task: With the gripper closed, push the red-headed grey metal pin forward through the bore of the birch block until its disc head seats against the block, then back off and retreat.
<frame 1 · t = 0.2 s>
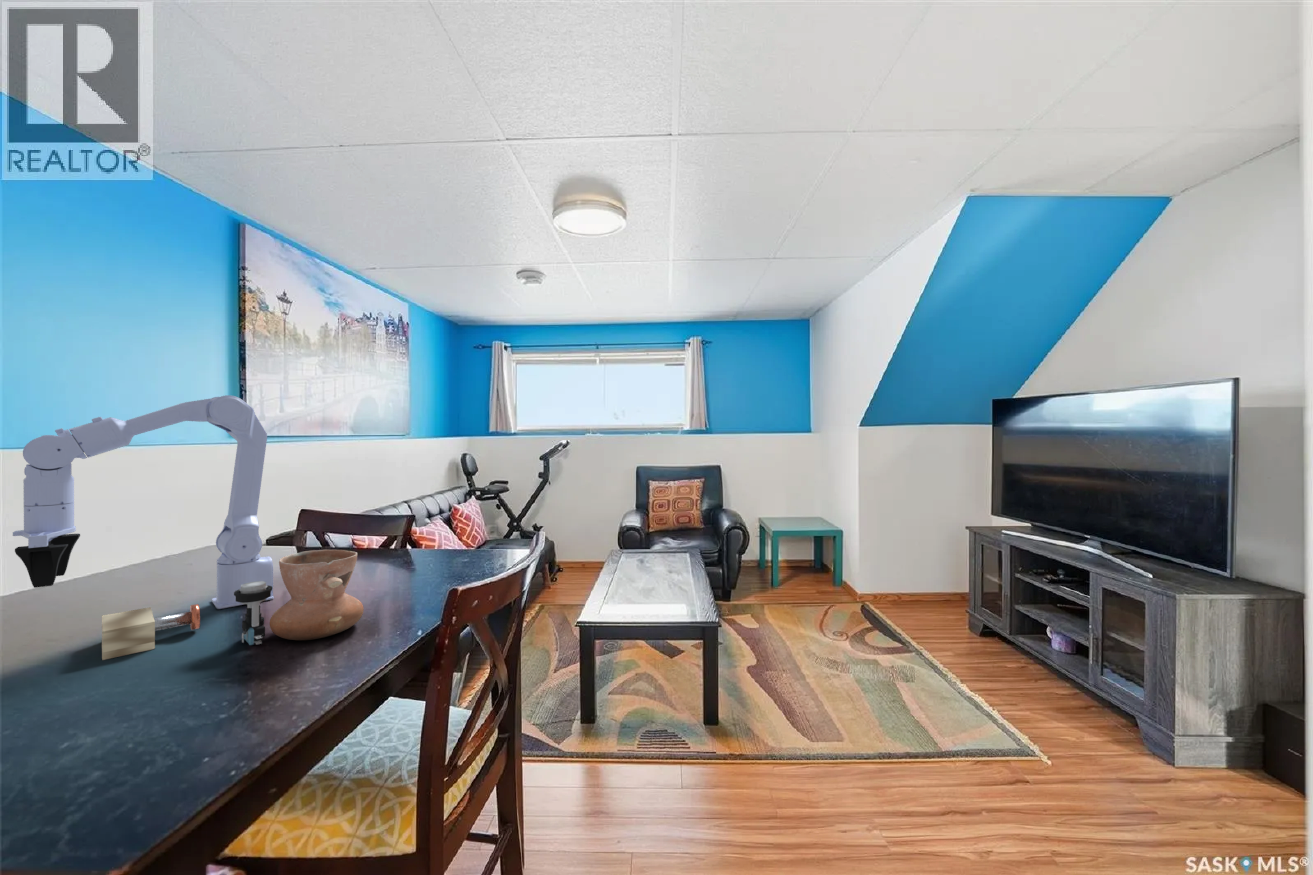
hand: (49, 581, 90), 10 cm above the table, fingers open, 7 cm apart
hitch block: (127, 645, 87), on the table
pin: (152, 624, 89), point 3 cm above the table, slide at 0.0 cm
push button: (254, 642, 89), on the table
ceramic jug: (317, 631, 95), on the table
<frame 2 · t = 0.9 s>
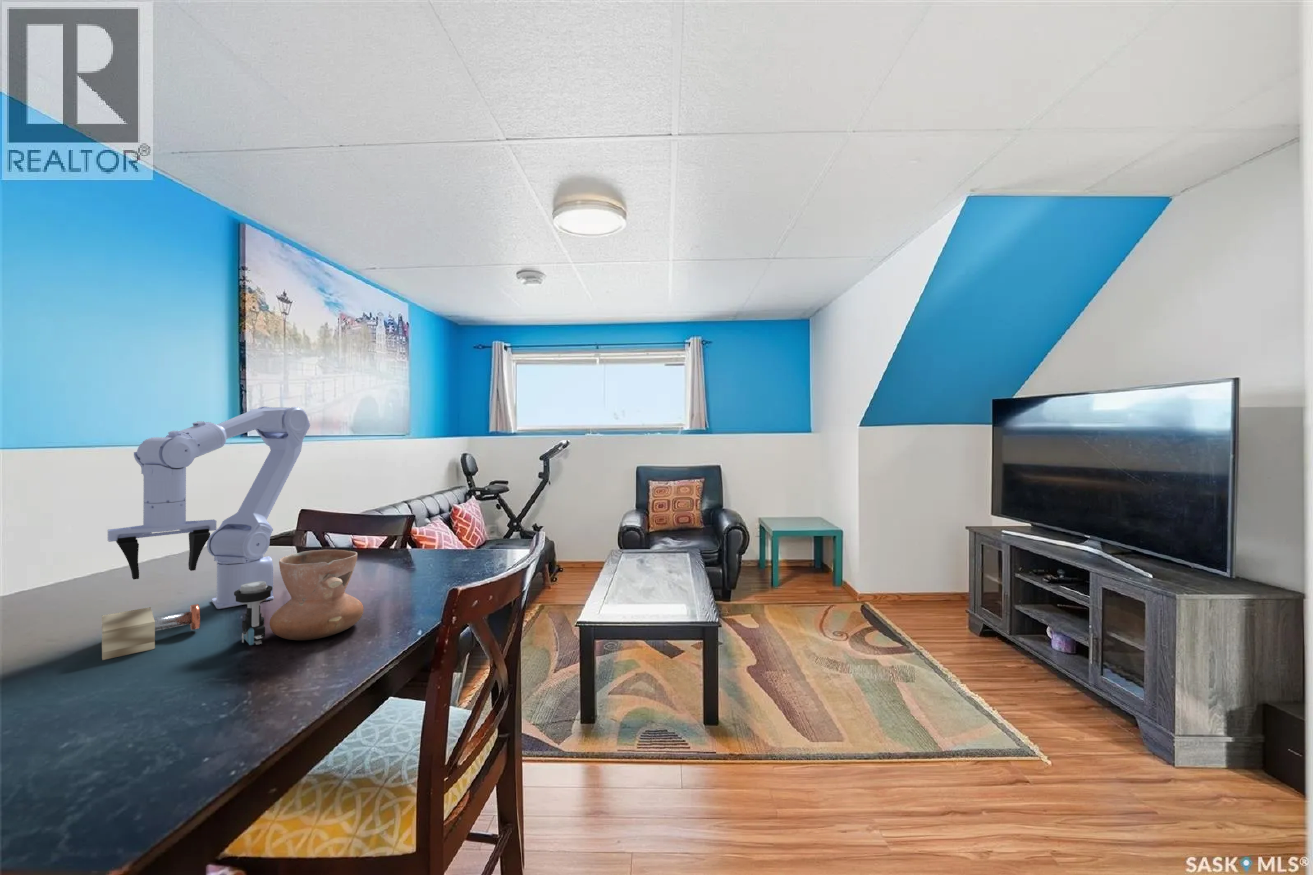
hand: (164, 573, 95), 10 cm above the table, fingers open, 7 cm apart
nothing on the table moved.
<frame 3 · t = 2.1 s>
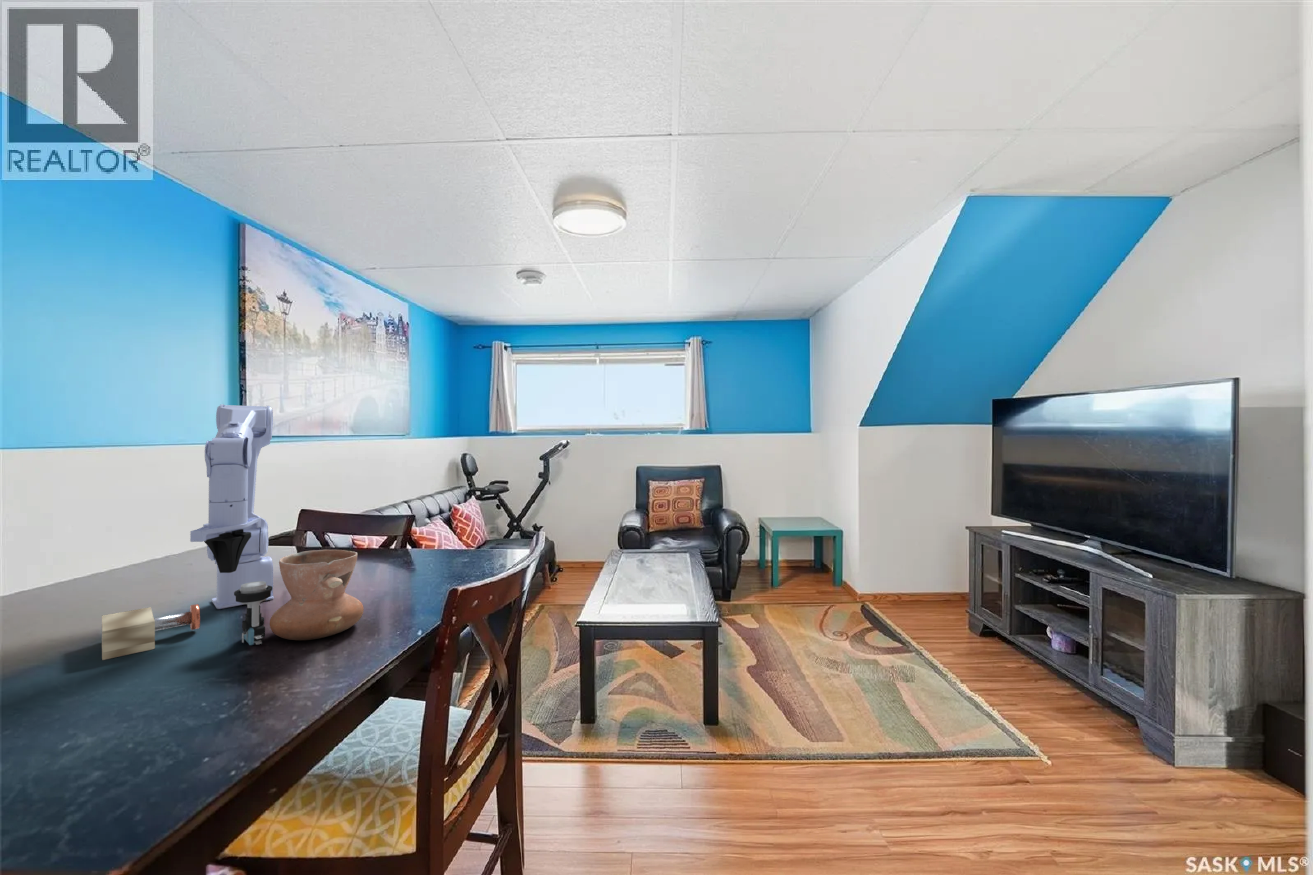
hand: (227, 571, 97), 10 cm above the table, fingers closed
nothing on the table moved.
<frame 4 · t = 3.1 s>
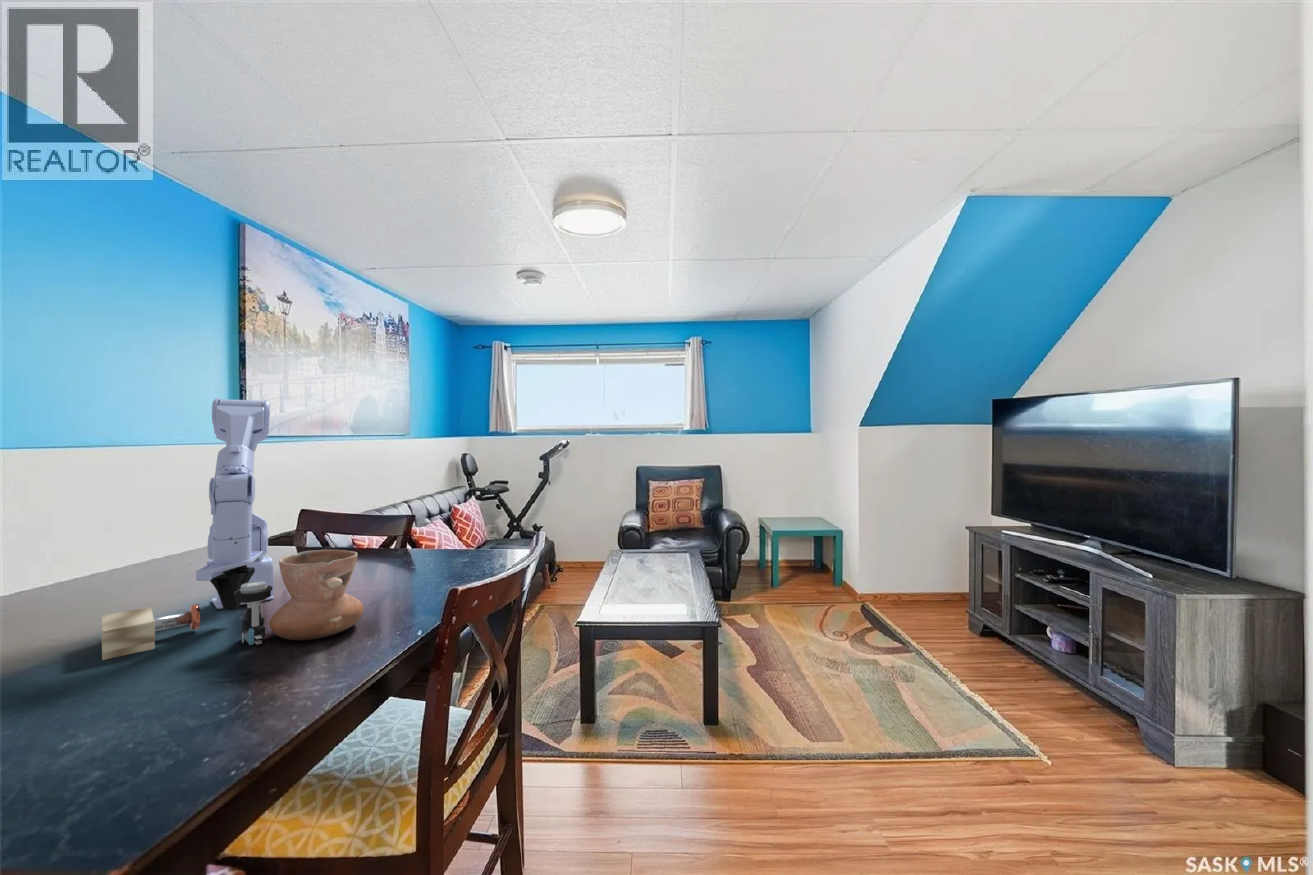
hand: (231, 608, 97), 3 cm above the table, fingers closed
nothing on the table moved.
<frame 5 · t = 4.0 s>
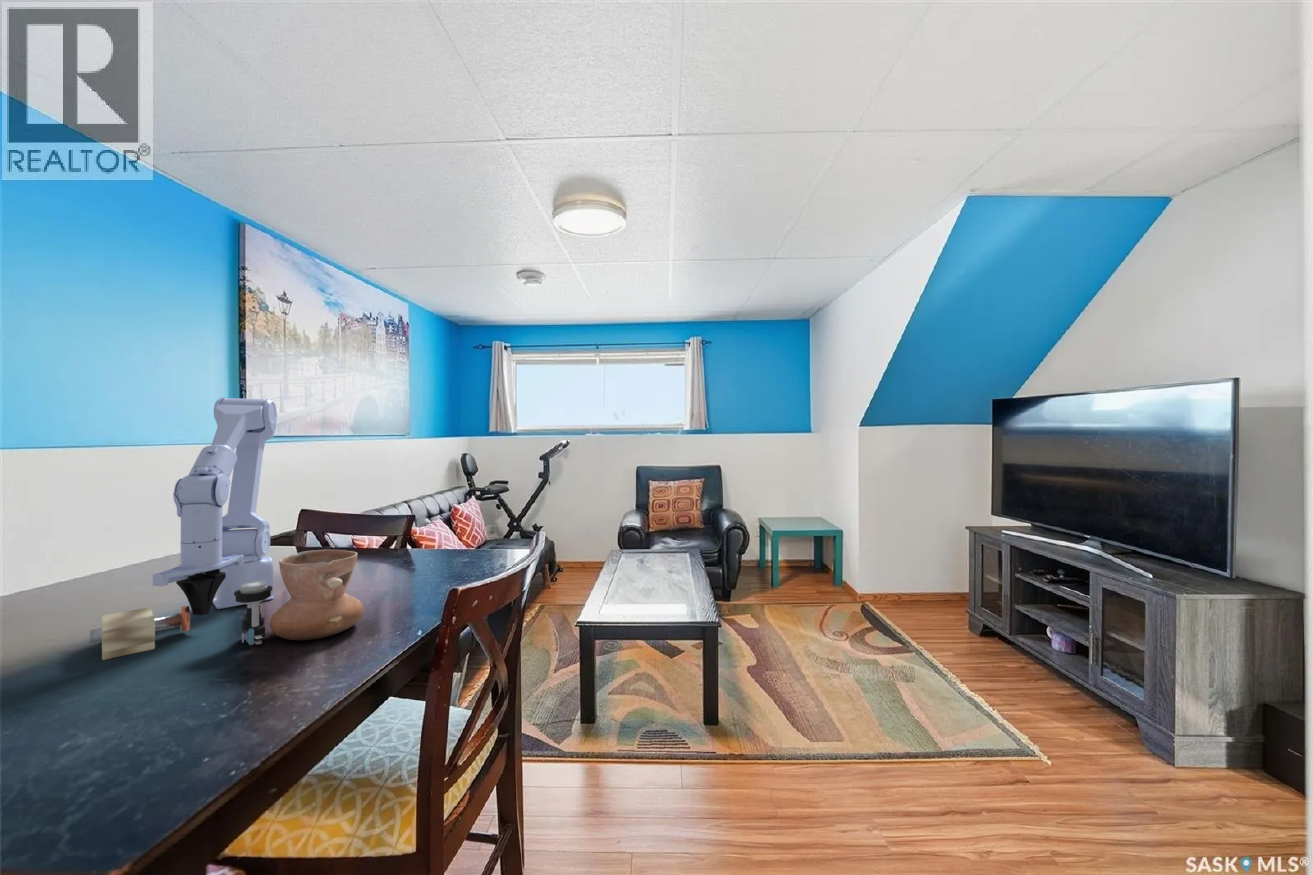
hand: (201, 613, 94), 3 cm above the table, fingers closed
pin: (141, 627, 88), point 3 cm above the table, slide at 1.3 cm, touching gripper
everything else where it was.
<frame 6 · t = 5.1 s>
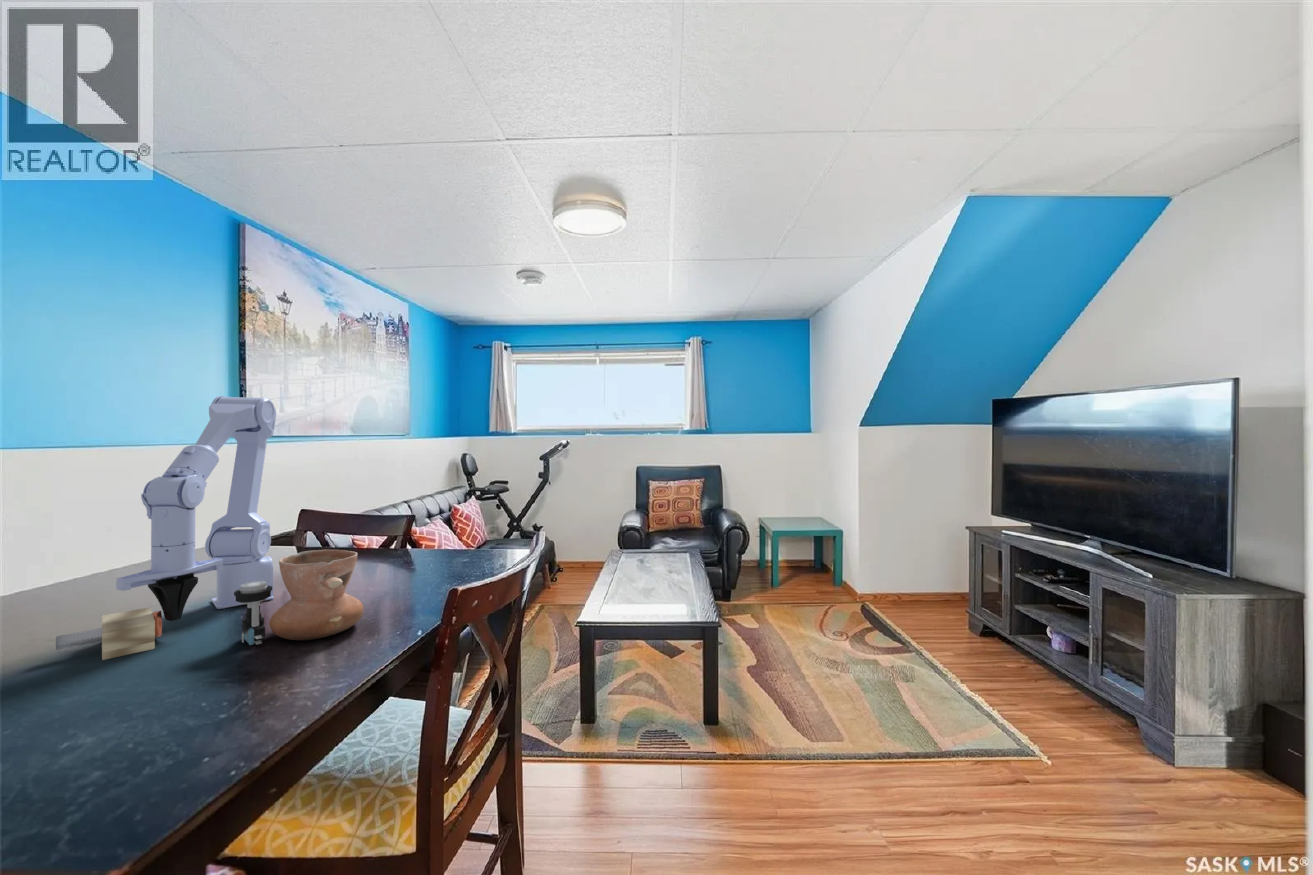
hand: (173, 619, 91), 3 cm above the table, fingers closed
pin: (111, 632, 86), point 3 cm above the table, slide at 5.0 cm, touching gripper
everything else where it was.
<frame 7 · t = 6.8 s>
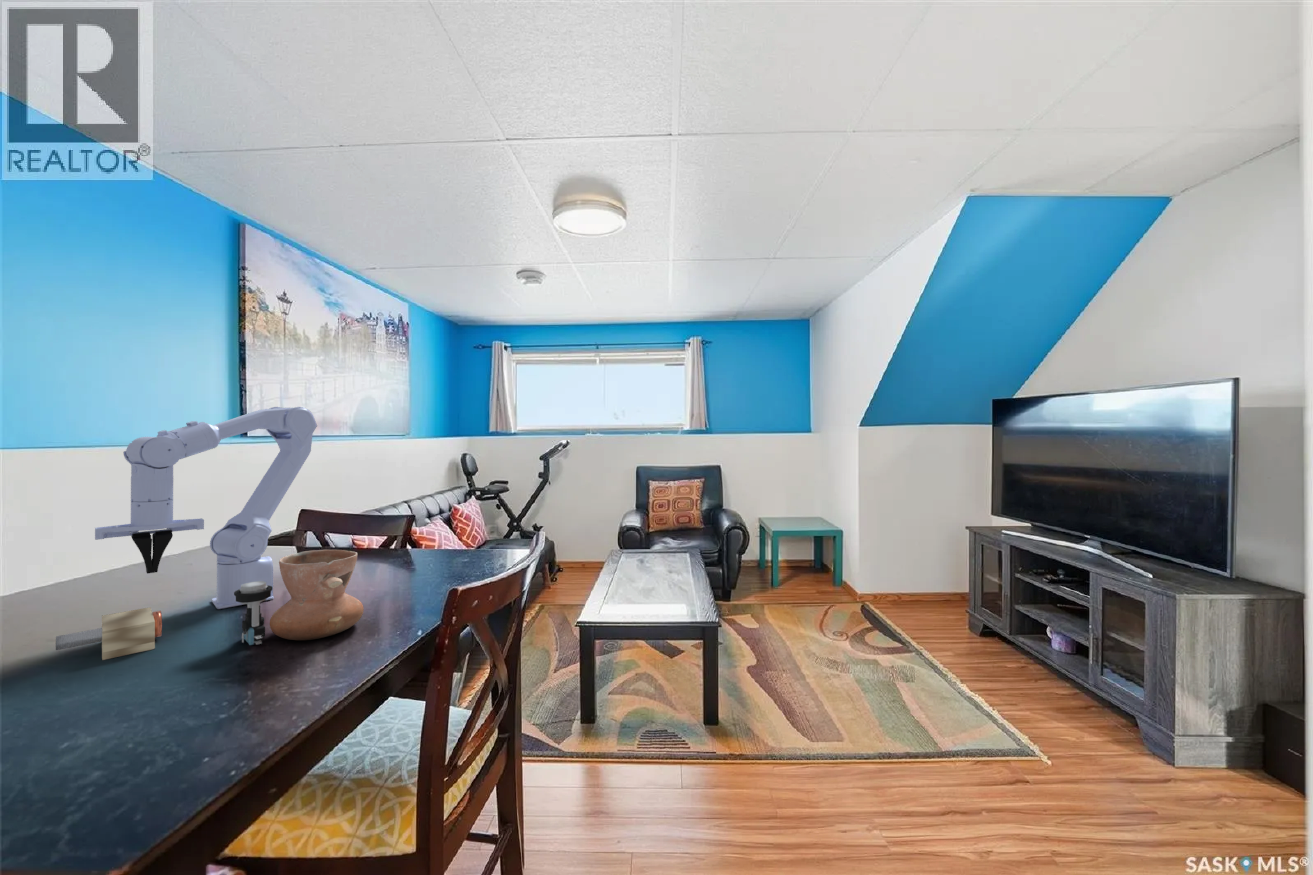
hand: (151, 571, 96), 10 cm above the table, fingers closed
pin: (111, 632, 86), point 3 cm above the table, slide at 5.0 cm
everything else where it was.
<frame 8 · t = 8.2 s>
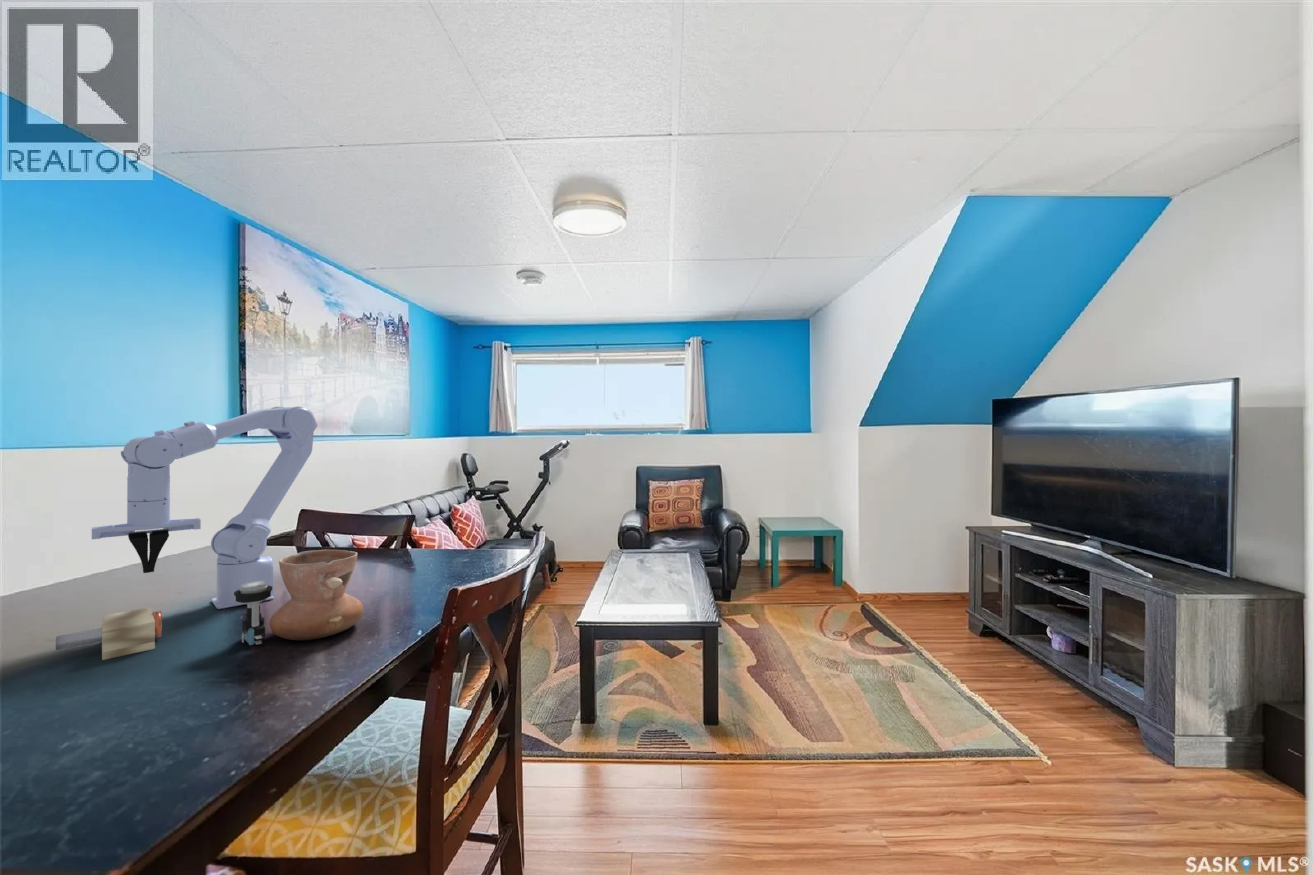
hand: (148, 571, 97), 10 cm above the table, fingers closed
nothing on the table moved.
at the end: pin slide at 5.0 cm; pin touching nothing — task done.
